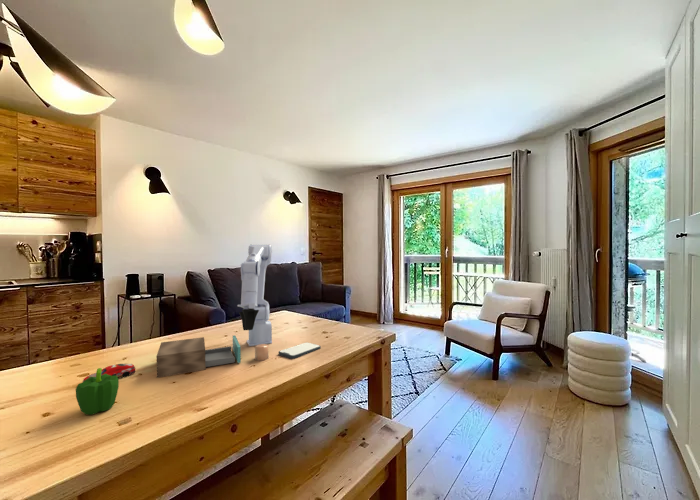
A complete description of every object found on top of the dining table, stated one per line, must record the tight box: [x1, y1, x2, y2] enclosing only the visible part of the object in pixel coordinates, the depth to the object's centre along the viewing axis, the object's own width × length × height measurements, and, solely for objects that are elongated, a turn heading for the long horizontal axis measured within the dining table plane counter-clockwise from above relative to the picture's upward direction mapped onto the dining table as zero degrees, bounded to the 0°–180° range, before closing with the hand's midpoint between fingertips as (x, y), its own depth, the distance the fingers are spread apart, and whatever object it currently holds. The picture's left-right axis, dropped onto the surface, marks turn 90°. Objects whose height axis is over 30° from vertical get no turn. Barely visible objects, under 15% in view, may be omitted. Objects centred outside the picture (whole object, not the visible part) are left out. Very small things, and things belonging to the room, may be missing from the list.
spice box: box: [155, 336, 206, 378], centre depth 108 cm, size 14×16×7 cm
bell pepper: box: [75, 367, 120, 416], centre depth 78 cm, size 8×8×10 cm
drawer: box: [205, 335, 242, 368], centre depth 113 cm, size 14×16×6 cm
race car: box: [82, 363, 137, 382], centre depth 97 cm, size 13×5×4 cm, turn 140°
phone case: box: [278, 342, 321, 360], centre depth 122 cm, size 9×2×16 cm
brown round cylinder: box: [254, 344, 269, 362], centre depth 114 cm, size 5×5×5 cm
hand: (247, 330), depth 113 cm, fingers open, 7 cm apart
